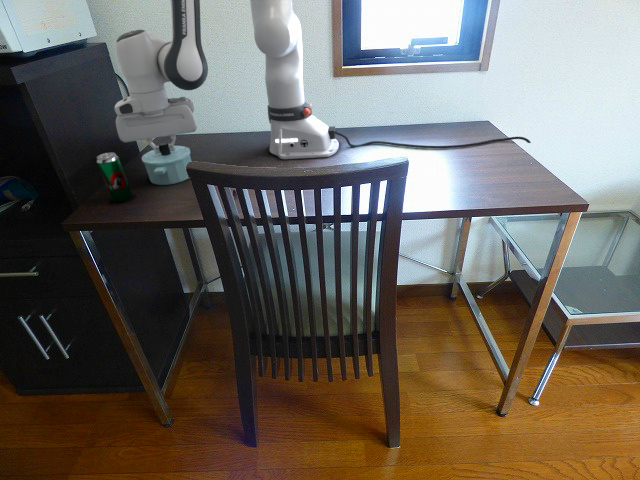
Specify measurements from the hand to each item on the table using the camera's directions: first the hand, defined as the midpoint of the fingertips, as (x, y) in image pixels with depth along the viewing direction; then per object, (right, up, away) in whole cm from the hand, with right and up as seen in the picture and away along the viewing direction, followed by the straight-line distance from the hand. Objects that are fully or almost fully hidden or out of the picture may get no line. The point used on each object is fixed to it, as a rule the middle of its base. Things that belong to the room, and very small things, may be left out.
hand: (165, 151), depth 109 cm
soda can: (-8, -14, -7) cm, 18 cm away
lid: (0, -1, +1) cm, 1 cm away
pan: (0, -6, +4) cm, 7 cm away
